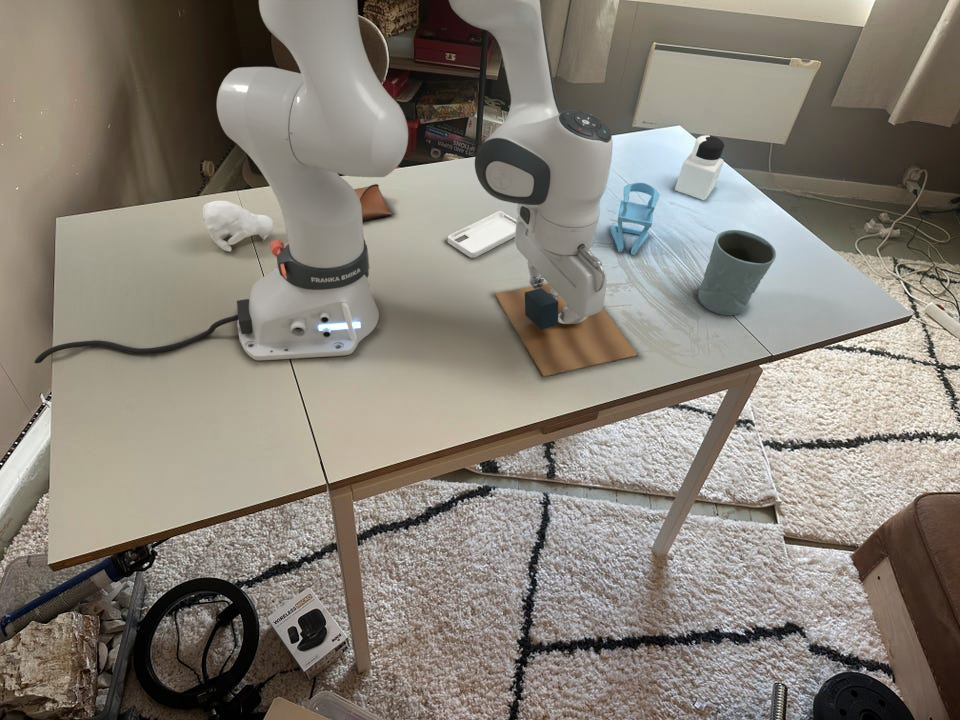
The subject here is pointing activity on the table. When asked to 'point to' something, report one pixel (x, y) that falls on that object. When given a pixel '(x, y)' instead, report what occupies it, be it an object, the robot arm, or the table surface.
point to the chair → (635, 215)
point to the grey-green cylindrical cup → (734, 271)
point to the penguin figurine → (233, 223)
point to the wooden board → (566, 337)
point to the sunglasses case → (372, 203)
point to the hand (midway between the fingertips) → (550, 302)
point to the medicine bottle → (701, 168)
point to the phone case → (484, 234)
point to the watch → (545, 308)
